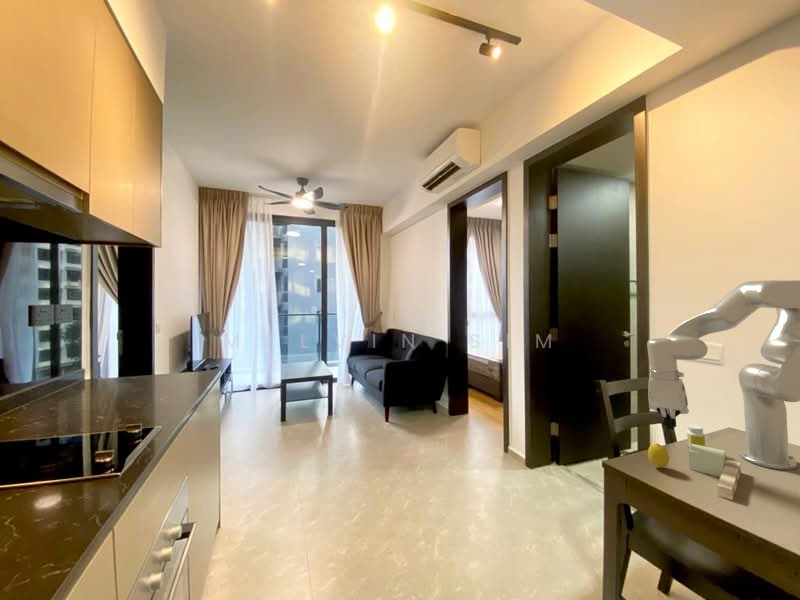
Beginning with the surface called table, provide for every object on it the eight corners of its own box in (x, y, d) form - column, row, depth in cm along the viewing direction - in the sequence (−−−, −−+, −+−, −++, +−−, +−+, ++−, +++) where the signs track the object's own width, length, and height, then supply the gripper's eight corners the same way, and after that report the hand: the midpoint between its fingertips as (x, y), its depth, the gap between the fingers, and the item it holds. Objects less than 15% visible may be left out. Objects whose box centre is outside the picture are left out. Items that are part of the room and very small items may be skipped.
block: (692, 461, 115) (691, 443, 115) (725, 469, 109) (724, 450, 109) (689, 469, 110) (688, 451, 110) (723, 478, 104) (722, 458, 104)
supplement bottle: (709, 452, 119) (707, 428, 119) (695, 453, 119) (694, 429, 119) (697, 446, 124) (695, 423, 124) (684, 447, 124) (683, 424, 124)
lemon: (673, 470, 110) (672, 445, 110) (661, 473, 108) (660, 448, 108) (656, 462, 115) (655, 438, 115) (644, 465, 113) (643, 441, 113)
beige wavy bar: (727, 469, 108) (727, 459, 108) (740, 472, 106) (740, 463, 106) (717, 495, 95) (717, 485, 95) (732, 500, 93) (732, 489, 93)
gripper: (694, 374, 114) (701, 429, 114) (641, 370, 125) (647, 420, 125) (690, 379, 109) (697, 437, 109) (635, 375, 120) (641, 427, 120)
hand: (670, 428), depth 117 cm, fingers closed
